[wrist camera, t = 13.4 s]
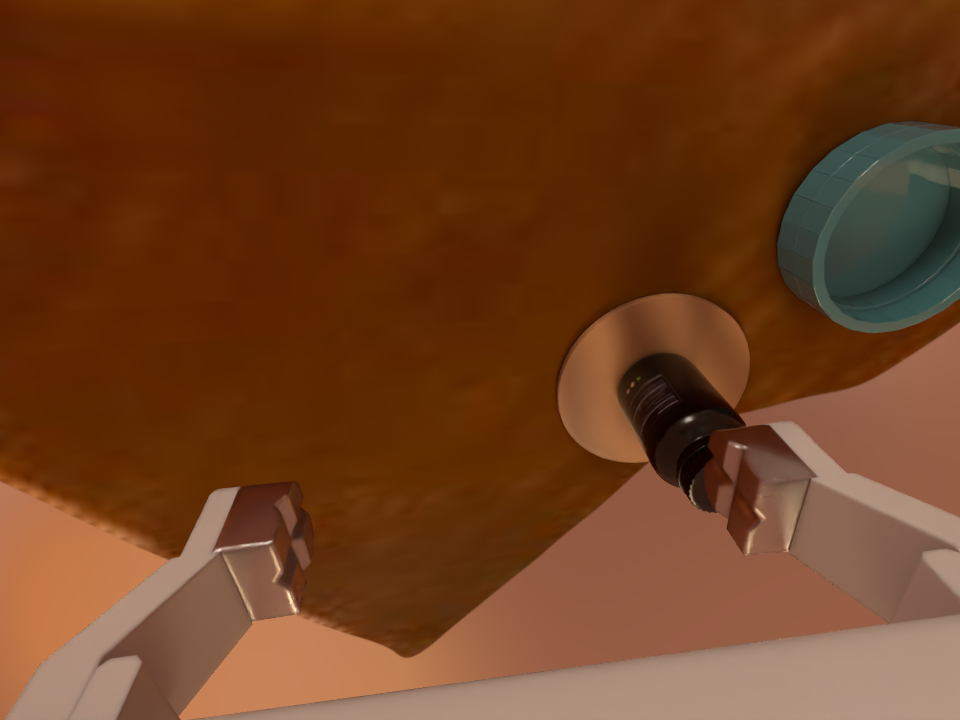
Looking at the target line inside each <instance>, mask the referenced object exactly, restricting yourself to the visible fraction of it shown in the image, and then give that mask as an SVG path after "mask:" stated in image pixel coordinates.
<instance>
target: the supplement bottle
mask: <svg viewBox="0 0 960 720" xmlns="http://www.w3.org/2000/svg"><path fill="white" fill-rule="evenodd" d="M617 398H618V404H619V407H620V409H621V411H622V413H623V415H624V416H625V418H626V420H627V422H628V424H629V425H630V427H631V429H632V431H633V433H634V434H635V436H636V438H637V440H638V441H639V443H640V445H641V447H642V449H643V450H644V452H645V454H646V456H647V458H648V459H649V461H650V463H651V465H652V466H653V468H654V470H655V471H656V473H657V474H658V475H659V476H660V477H661V478H662V479H663V480H664V481H666V482H667V483H669V484H671V485H673V486H676V487H679V488H681V490H682V491H683V492H684V493H685V494H686V495H687V497H688V498H689V500H690V501H691V503H692V504H693V505H694V506H696V507H697V508H698V509H702V510H703V511H707V512H709V513H710V512H714V513H718V512H716V511H715V509H714V508H713V506H712V505H711V503H710V501H709V499H708V496H707V494H706V491H705V484H704V470H705V464H706V463H707V462H708V461H709V460H710V459H711V458H712V457H713V456H714V455H713V453H712V452H711V451H710V449H709V448H708V445H709V440H710V436H711V435H712V433H713V431H717V430H725V429H732V428H740V427H747V426H746V424H745V422H744V421H743V420H742V418H741V417H740V416H739V414H738V413H737V412H736V411H735V410H734V409H733V408H732V407H731V405H730V404H729V403H728V402H727V401H726V400H725V399H724V398H723V396H722V395H721V394H720V393H719V392H718V391H717V390H716V389H715V387H714V386H713V385H712V384H711V383H710V382H709V381H708V380H707V378H706V377H705V376H704V375H703V374H702V373H701V372H700V371H699V369H698V368H697V367H696V366H695V365H694V364H693V363H692V362H691V361H689V360H688V359H687V358H685V357H683V356H681V355H678V354H675V353H656V354H652V355H649V356H646V357H644V358H642V359H640V360H639V361H637V362H636V363H634V364H633V365H632V366H631V367H630V368H629V369H628V370H627V371H626V373H625V374H624V375H623V377H622V379H621V381H620V383H619V387H618V392H617Z"/></svg>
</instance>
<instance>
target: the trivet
mask: <svg viewBox="0 0 960 720" xmlns="http://www.w3.org/2000/svg"><path fill="white" fill-rule="evenodd" d="M656 353H675V354H678V355H681V356H683V357H685V358H687V359H688V360H689V361H691V362H692V363H693V364H694V365H695V366H696V367H697V368H698V369H699V371H700V372H701V373H702V374H703V375H704V376H705V377H706V378H707V380H708V381H709V382H710V383H711V384H712V385H713V386H714V387H715V389H716V390H717V391H718V392H719V393H720V394H721V395H722V396H723V398H724V399H725V400H726V401H727V402H728V403H729V404H730V405H731V407H732V408H733V409H734V408H735V407H736V405H737V403H738V402H739V400H740V398H741V396H742V394H743V391H744V389H745V387H746V383H747V380H748V376H749V368H750V354H749V348H748V343H747V341H746V338H745V335H744V333H743V331H742V330H741V328H740V326H739V325H738V323H737V322H736V321H735V320H734V319H733V317H731V316H730V315H729V314H728V313H727V312H726V311H724V310H723V309H722V308H721V307H719V306H717V305H716V304H714V303H712V302H710V301H708V300H705V299H703V298H700V297H696V296H692V295H687V294H676V293H671V294H657V295H651V296H646V297H642V298H639V299H635V300H633V301H630V302H628V303H625V304H623V305H621V306H619V307H617V308H615V309H613V310H611V311H609V312H608V313H606V314H605V315H604V316H602V317H601V318H599V319H598V320H596V321H595V322H594V323H593V324H592V325H591V326H590V327H588V328H587V329H586V330H585V331H584V333H583V334H582V335H581V336H580V337H579V338H578V339H577V341H576V342H575V343H574V345H573V346H572V348H571V349H570V351H569V353H568V354H567V356H566V358H565V360H564V362H563V365H562V367H561V370H560V373H559V378H558V382H557V392H556V395H557V406H558V410H559V414H560V417H561V419H562V421H563V424H564V426H565V428H566V429H567V431H568V433H569V434H570V435H571V436H572V438H573V439H574V440H575V441H576V442H577V443H578V444H579V445H581V446H582V447H583V448H584V449H586V450H588V451H589V452H591V453H593V454H595V455H597V456H600V457H602V458H606V459H609V460H613V461H619V462H632V463H636V462H648V461H649V459H648V458H647V456H646V454H645V452H644V450H643V449H642V447H641V445H640V443H639V441H638V440H637V438H636V436H635V434H634V433H633V431H632V429H631V427H630V425H629V424H628V422H627V420H626V418H625V416H624V415H623V413H622V411H621V409H620V407H619V404H618V398H617V392H618V387H619V383H620V381H621V379H622V377H623V375H624V374H625V373H626V371H627V370H628V369H629V368H630V367H631V366H632V365H633V364H634V363H636V362H637V361H639V360H640V359H642V358H644V357H646V356H649V355H652V354H656Z"/></svg>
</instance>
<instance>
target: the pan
mask: <svg viewBox="0 0 960 720" xmlns="http://www.w3.org/2000/svg"><path fill="white" fill-rule="evenodd" d="M777 243H778V244H777V252H778V266H779V268H780V271H781V274H782V276H783V279H784V281H785V284H786V285H787V287H788V288H789V289H790V290H791V291H792V292H793V293H794V294H795V296H796V297H797V298H798V299H800V300H802V301H803V302H805V303H806V304H808V305H809V306H811V307H812V308H814V309H816V310H817V311H819V312H820V313H822V314H823V315H825V316H826V317H828V318H829V319H831V320H832V321H834V322H836V323H838V324H840V325H842V326H844V327H846V328H848V329H850V330H854V331H861V332H867V333H879V332H889V331H895V330H899V329H902V328H905V327H908V326H911V325H914V324H918V323H920V322H923V321H924V320H926V319H928V318H930V317H932V316H934V315H936V314H937V313H939V312H941V311H943V310H945V309H946V308H947V307H949V306H950V305H951V304H953V303H954V302H955V301H957V300H958V299H959V298H960V127H953V126H946V125H938V124H931V123H924V122H917V121H907V122H895V123H888V124H884V125H881V126H878V127H875V128H872V129H870V130H867V131H864V132H861V133H860V134H858V135H856V136H855V137H853V138H851V139H850V140H848V141H846V142H845V143H843V144H842V145H840V146H838V147H837V148H835V149H833V150H832V151H831V152H830V153H829V154H828V155H827V156H826V157H825V158H824V159H823V160H822V161H821V162H820V163H819V164H817V165H816V166H815V167H814V168H813V169H812V171H811V172H810V173H809V174H808V176H807V177H806V178H805V180H804V181H803V183H802V184H801V185H800V187H799V188H798V189H797V191H796V192H795V194H794V195H793V197H792V199H791V202H790V204H789V206H788V208H787V210H786V212H785V215H784V217H783V220H782V224H781V228H780V233H779V238H778V242H777Z"/></svg>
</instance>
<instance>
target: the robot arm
mask: <svg viewBox="0 0 960 720" xmlns="http://www.w3.org/2000/svg"><path fill="white" fill-rule="evenodd" d="M708 448H709V449H710V451H711V452H712V453H713V455H714V456H713V457H712V458H711V459H710V460H709V461H708V462H707V463H706V464H705V470H704V484H705V491H706V494H707V496H708V499H709V501H710V503H711V505H712V506H713V508H714V509H715V511H716V512H718V513H720V514H721V515H723V516H725V517H726V518H728V524H727V530H728V531H729V533H730V535H731V536H732V537H733V539H734V540H735V542H736V544H737V545H738V547H739V549H740V550H741V552H742V553H743V555H744V556H747V555H757V554H767V553H777V552H786V551H789V554H790V555H791V556H793V557H794V558H796V559H797V560H799V561H800V562H802V563H803V564H804V565H806V566H807V567H809V568H810V569H812V570H813V571H814V572H816V573H817V574H819V575H820V576H822V577H823V578H824V579H826V580H827V581H829V582H830V583H832V584H833V585H835V586H836V587H837V588H839V589H840V590H842V591H843V592H845V593H846V594H847V595H849V596H851V597H852V598H853V599H855V600H856V601H858V602H859V603H861V604H862V605H863V606H865V607H866V608H868V609H869V610H870V611H872V612H874V613H875V614H876V615H878V616H879V617H881V618H882V619H884V620H885V621H886V622H888V623H889V624H884V625H876V626H869V627H862V628H854V629H847V630H840V631H833V632H825V633H818V634H811V635H803V636H796V637H789V638H781V639H774V640H767V641H760V642H753V643H745V644H738V645H731V646H725V647H716V648H709V649H702V650H695V651H688V652H681V653H673V654H666V655H658V656H651V657H644V658H638V659H630V660H622V661H615V662H608V663H600V664H593V665H586V666H578V667H571V668H564V669H556V670H549V671H542V672H534V673H527V674H520V675H513V676H505V677H498V678H490V679H483V680H476V681H468V682H462V683H454V684H447V685H440V686H432V687H425V688H417V689H410V690H403V691H396V692H388V693H381V694H374V695H366V696H359V697H352V698H345V699H337V700H330V701H323V702H315V703H308V704H301V705H294V706H287V707H279V708H272V709H265V710H257V711H250V712H243V713H235V714H228V715H221V716H213V717H207V718H200V719H192V720H960V517H958V516H955V515H953V514H951V513H948V512H946V511H944V510H941V509H939V508H936V507H934V506H932V505H929V504H927V503H925V502H922V501H920V500H917V499H915V498H913V497H910V496H908V495H906V494H903V493H901V492H899V491H896V490H894V489H892V488H889V487H887V486H885V485H882V484H880V483H878V482H875V481H873V480H870V479H868V478H866V477H863V476H861V475H859V474H856V473H852V474H847V473H846V472H845V471H844V470H843V469H842V468H841V467H840V466H839V465H838V464H837V463H836V462H835V461H833V460H832V458H831V457H829V455H827V454H826V453H825V452H824V451H823V450H822V449H821V448H820V447H819V446H818V445H817V444H816V443H815V442H814V441H813V440H812V439H811V438H810V437H809V436H808V435H807V434H806V433H805V432H804V431H803V430H802V429H801V428H800V427H799V426H798V425H797V424H796V423H794V422H791V421H782V422H774V423H767V424H763V425H756V426H748V427H740V428H732V429H725V430H717V431H713V433H712V435H711V436H710V440H709V445H708ZM302 500H303V494H302V491H301V488H300V486H299V483H297V482H295V481H292V482H281V483H271V484H261V485H251V486H243V487H235V488H225V489H216V490H215V491H214V492H213V493H211V494H210V496H209V498H208V500H207V502H206V504H205V506H204V508H203V510H202V512H201V515H200V517H199V519H198V521H197V523H196V525H195V527H194V529H193V531H192V533H191V535H190V537H189V539H188V541H187V543H186V545H185V548H184V550H183V552H182V554H181V556H180V557H178V558H171V559H170V560H169V561H168V562H167V563H165V564H164V565H163V566H162V567H160V568H159V569H158V570H157V571H155V572H154V573H153V574H152V575H150V576H149V577H148V578H147V579H145V580H144V581H143V582H142V583H140V584H139V585H138V586H137V587H136V588H134V589H133V590H132V591H130V592H129V593H128V594H127V595H126V596H125V597H123V598H122V599H121V600H119V601H118V602H117V603H116V604H114V605H113V606H112V607H111V608H109V609H108V610H107V611H106V612H104V613H103V614H102V615H101V616H100V617H98V618H97V619H96V620H95V621H93V622H92V623H91V624H90V625H88V626H87V627H86V628H85V629H83V630H82V631H81V632H80V633H78V634H77V635H76V636H75V637H73V638H72V639H71V640H70V641H68V642H67V643H66V644H65V645H64V646H62V647H61V648H60V649H59V650H57V651H56V652H55V653H54V654H52V655H51V656H50V657H49V658H47V659H46V660H45V661H44V662H42V663H41V664H40V665H39V666H38V667H37V669H36V671H35V672H34V674H33V676H32V677H31V679H30V680H29V682H28V683H27V685H26V687H25V688H24V690H23V691H22V693H21V694H20V696H19V698H18V699H17V701H16V703H15V704H14V706H13V707H12V709H11V710H10V712H9V714H8V715H7V717H6V719H5V720H180V718H179V717H178V716H179V715H180V714H181V713H182V711H183V710H184V709H185V708H186V706H187V705H188V704H189V703H190V701H191V700H192V699H193V698H194V696H195V695H196V694H197V693H198V691H199V690H200V689H201V688H202V686H203V685H204V684H205V683H206V681H207V680H208V679H209V678H210V676H211V675H212V674H213V673H214V671H215V670H216V669H217V668H218V666H219V665H220V664H221V663H222V661H223V660H224V659H225V658H226V656H227V655H228V654H229V653H230V651H231V650H232V649H233V648H234V646H235V645H236V644H237V643H238V641H239V640H240V639H241V638H242V636H243V635H244V634H245V633H246V631H247V630H248V629H249V628H250V626H251V625H252V622H251V621H257V620H264V619H270V618H276V617H283V616H288V615H295V614H299V613H300V608H301V604H302V600H303V595H304V591H305V586H306V580H305V577H304V574H303V570H304V569H305V568H306V567H307V566H308V565H309V564H310V563H311V558H312V553H313V539H314V534H313V527H312V522H311V518H310V515H309V513H308V512H306V511H305V510H303V509H302V508H301V504H302Z"/></svg>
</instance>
